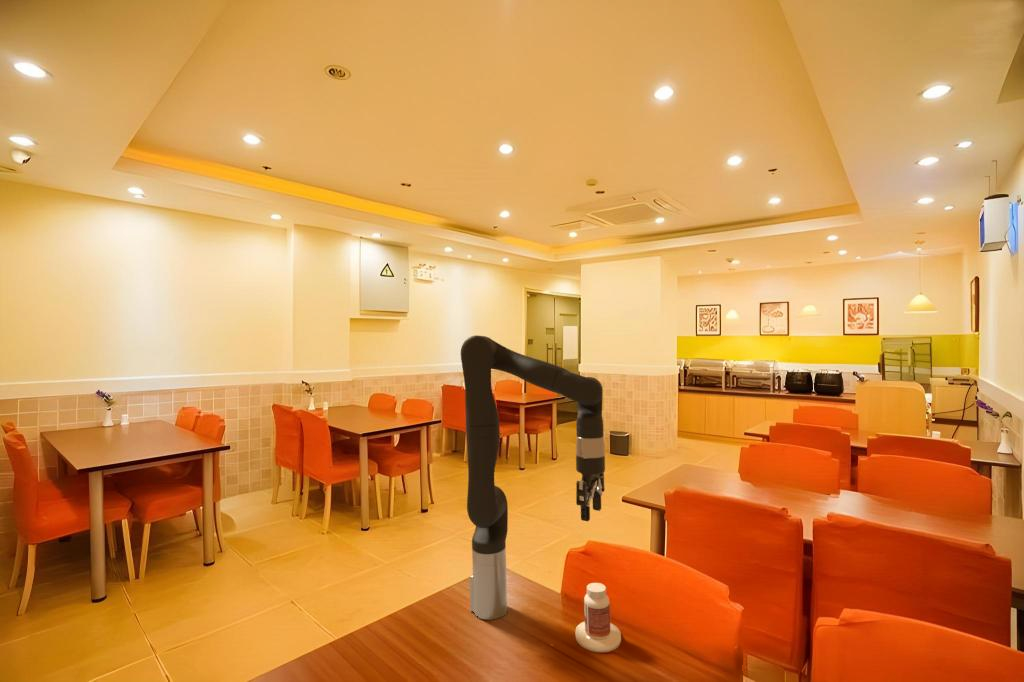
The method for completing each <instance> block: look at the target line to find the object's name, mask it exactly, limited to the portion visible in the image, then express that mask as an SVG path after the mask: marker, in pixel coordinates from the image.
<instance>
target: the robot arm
mask: <svg viewBox="0 0 1024 682" xmlns="http://www.w3.org/2000/svg"><path fill="white" fill-rule="evenodd" d="M460 360H461V367H462V373H463V380H464V388H465V389H464V390H465V391H464V393H465V394H464V395H465V397H464V399H465V400H464V402H465V403H464V404H465V408H464V409H465V411H464V412H465V437H466V438H465V439H466V449H467V450H466V451H467V452H466V454H467V456H466V458H467V469H468V470H467V472H468V476H467V477H468V479H467V480H468V481H467V496H466V497H467V498H466V511H467V516H468V518H469V520H470V522H471V523H472V524H473V525H474V526H475V528H474V533H473V535H472V538H471V550H472V551H471V553H472V554H471V555H472V559H471V560H472V574H470V576H469V602H470V607H469V608H470V610H471V611H473V612H474V613H475V614H474V613H473V612H472V613H473V614H474V616H476V617H477V616H478V617H477V618H478V619H481V620H486V621H487V620H490V621H491V620H497V619H500V618H501V617H504V616H505V614H506V613H507V611H508V589H507V586H508V585H507V550H506V549H507V548H506V546H507V545H506V543H507V542H506V541H507V535H508V526H509V525H508V523H509V522H508V521H509V520H508V517H509V514H508V513H509V512H508V511H509V510H508V509H509V508H508V507H509V506H508V499H507V496H506V494H505V492H504V490H502V488H501V487H499V486H497V485H496V484H495V470H496V464H497V459H498V454H499V450H500V444H501V443H500V441H501V433H500V432H501V431H500V417H499V412H498V407H497V404H496V400H495V397H494V394H493V393H494V392H493V388H492V370H496V371H501V372H505V373H507V374H510V375H513V376H515V377H517V378H519V379H520V380H521V379H522V380H523V381H526V382H527V383H529V384H531V385H533V386H535V387H537V388H538V387H539V388H541V389H542V390H543V389H544V390H546V391H548V392H552V393H554V394H558V395H562V396H564V397H566V398H568V399H570V400H571V401H574V402H576V405H577V415H576V439H575V469H576V472H578V473H579V474H581V475H582V476H581V480H577V481H576V483H575V484H576V488H575V489H576V491H575V492H576V494H575V496H576V499H575V500H576V501H575V502H576V505H577V506H580V520H581V521H585V522H589V521H590V520H591V506H590V505H591V500H592V509H593V510H594V511H599V512H600V511H601V510H602V496H603V493H604V492H605V490H606V489H605V471H606V451H605V446H606V445H605V440H604V439H605V438H604V420H603V419H604V418H603V396H604V395H603V393H604V390H603V386H602V384H601V382H600V381H599V380H598V379H597V378H596V377H593V376H583V375H580V374H577V373H574V372H571V371H569V370H568V369H566V368H564V367H563V366H559V365H555V364H554V363H550V362H548V361H544V360H541V359H537V358H534V357H531V356H527V355H524V354H521V353H519V352H516V351H514V350H512V349H510V348H507V347H505V346H504V345H502V344H500V343H498V342H497V341H495V340H493V339H491V337H489V336H484V335H471V336H469V337H467V338H466V339H465V340H464V342H463V343H462V345H461V348H460ZM471 611H470V612H471Z"/></svg>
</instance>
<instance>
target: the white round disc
mask: <svg viewBox="0 0 1024 682" xmlns="http://www.w3.org/2000/svg"><path fill="white" fill-rule="evenodd" d="M574 635H575V640H576V642H577V644H579V646H581V647H582V649H585V650H587V651H590V652H594V653H608V652H612V651H614V650H617V649H618V648H619V647H620V645H621V644H622V643H621V642H622V633H621V631H620V629H619V627H617V626H616V625H614V624H613V623H611V622H610V635H609V636H608V637H607V638H605V639H594V638H591V637H589V636H588V635H587V634H586V632H585V620H584V621H582V622H580V623H579V624H578V625H577V626H576V628H575V634H574Z"/></svg>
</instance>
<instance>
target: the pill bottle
mask: <svg viewBox="0 0 1024 682" xmlns="http://www.w3.org/2000/svg"><path fill="white" fill-rule="evenodd" d="M583 604H584V606H583V608H584V621H585V632H586V634H587V635H588V636H589V637H591V638H594V639H605V638H607V637H608V636H609V635H610V623H611V615H610V613H611V612H610V609H611V608H610V599H609V596H608V595H607V587H606V586H605V585H604V584H603V583H600V582H591V583H588V585H586V594H585V595H584V598H583Z"/></svg>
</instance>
